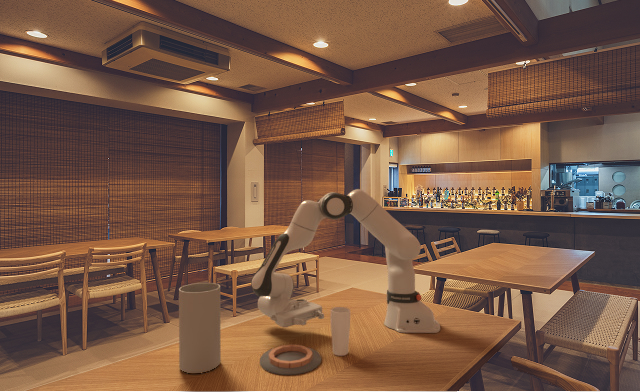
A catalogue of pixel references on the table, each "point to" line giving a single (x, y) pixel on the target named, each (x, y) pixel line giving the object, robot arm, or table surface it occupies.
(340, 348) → the drinking glass
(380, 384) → the table surface
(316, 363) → the round tray
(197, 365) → the cylinder vase
